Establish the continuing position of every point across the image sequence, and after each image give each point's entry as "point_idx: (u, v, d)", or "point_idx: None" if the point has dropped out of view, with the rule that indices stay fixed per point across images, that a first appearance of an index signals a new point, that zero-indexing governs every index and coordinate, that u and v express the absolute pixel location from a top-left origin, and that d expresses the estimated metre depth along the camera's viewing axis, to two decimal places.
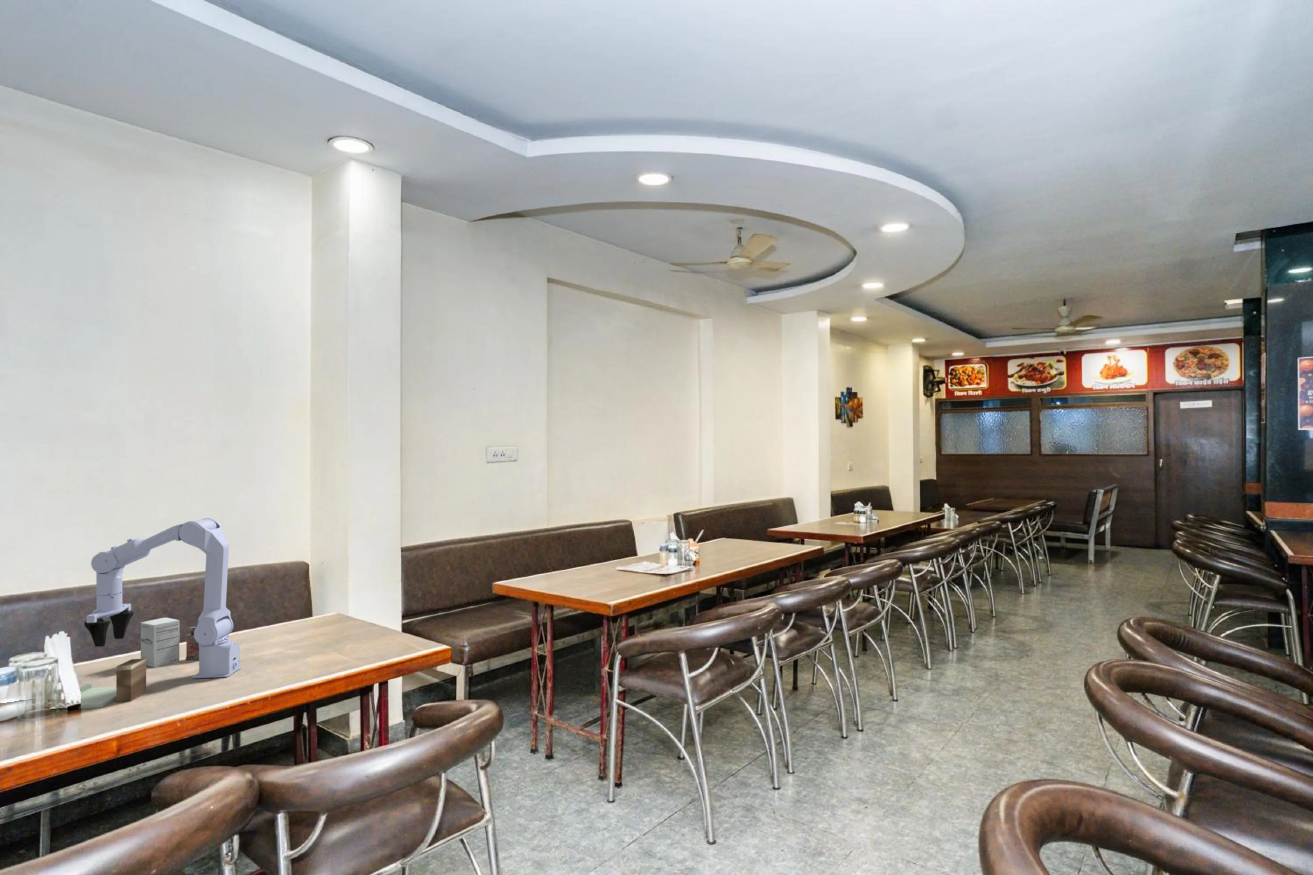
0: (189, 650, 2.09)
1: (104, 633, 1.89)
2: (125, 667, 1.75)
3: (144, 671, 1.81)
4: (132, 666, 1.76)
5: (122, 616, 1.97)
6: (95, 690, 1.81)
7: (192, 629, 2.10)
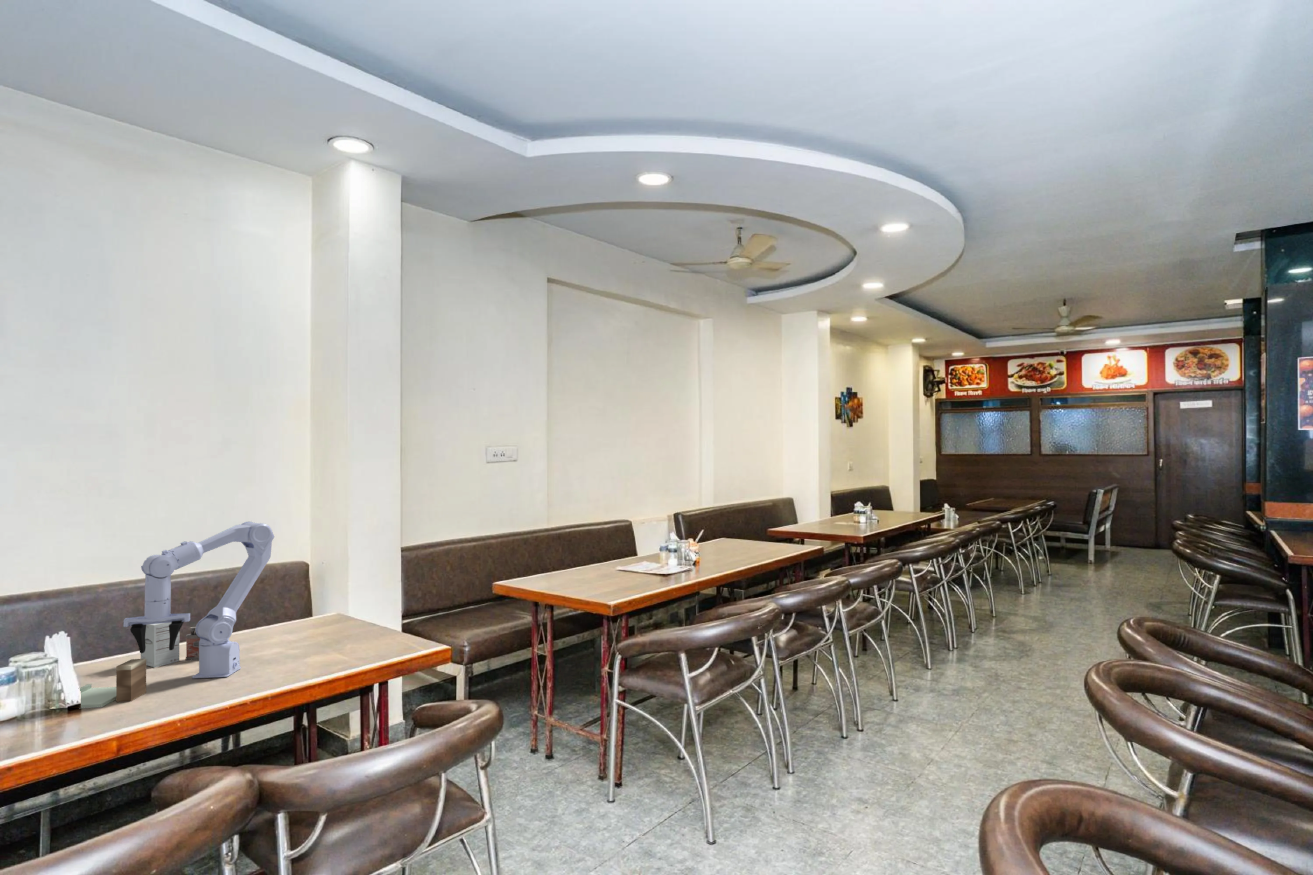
0: (189, 650, 2.09)
1: (138, 640, 1.82)
2: (125, 667, 1.75)
3: (144, 671, 1.81)
4: (132, 666, 1.76)
5: None
6: (95, 690, 1.81)
7: (192, 629, 2.10)
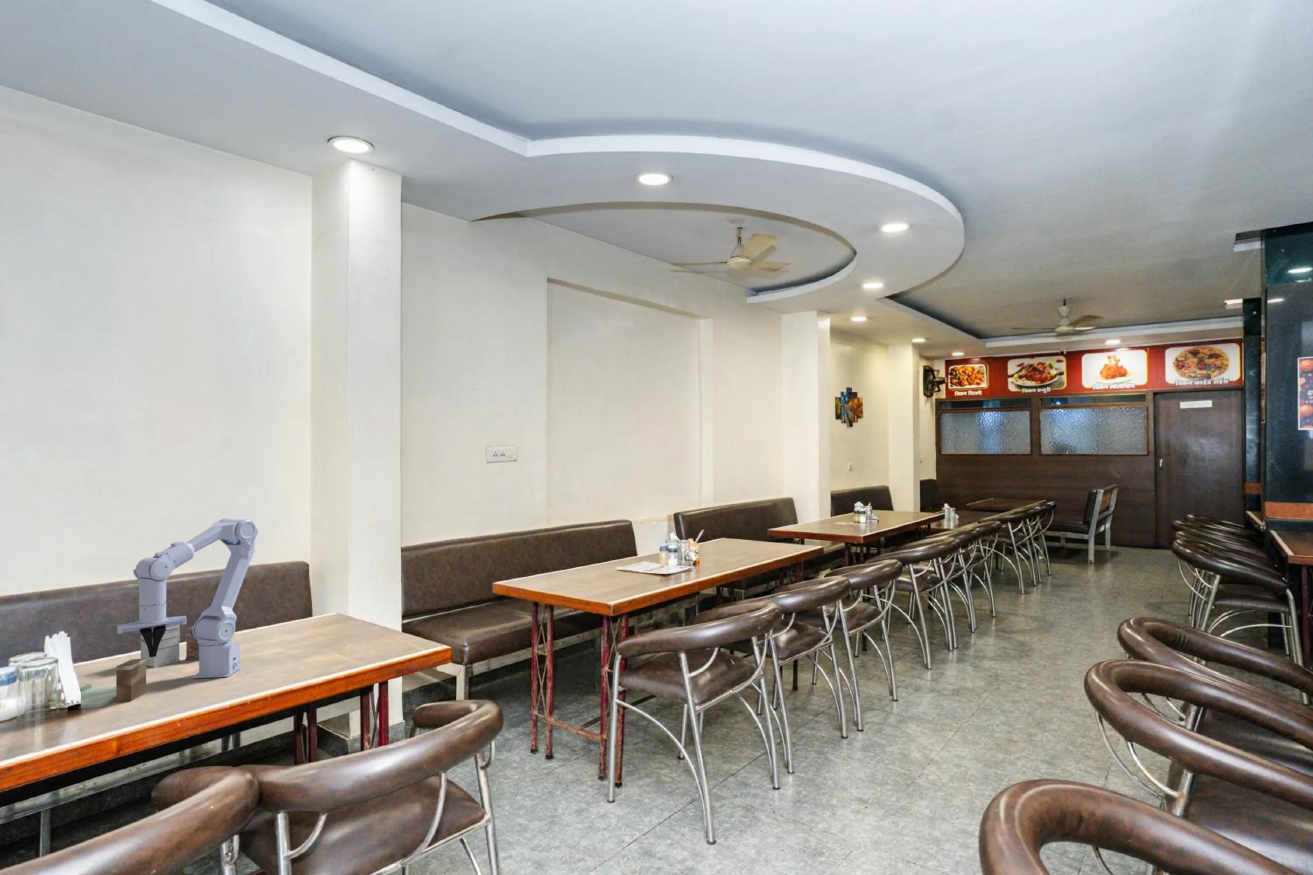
0: (189, 650, 2.09)
1: (148, 644, 1.78)
2: (125, 667, 1.75)
3: (144, 671, 1.81)
4: (132, 666, 1.76)
5: (154, 632, 1.80)
6: (95, 690, 1.81)
7: (192, 629, 2.10)
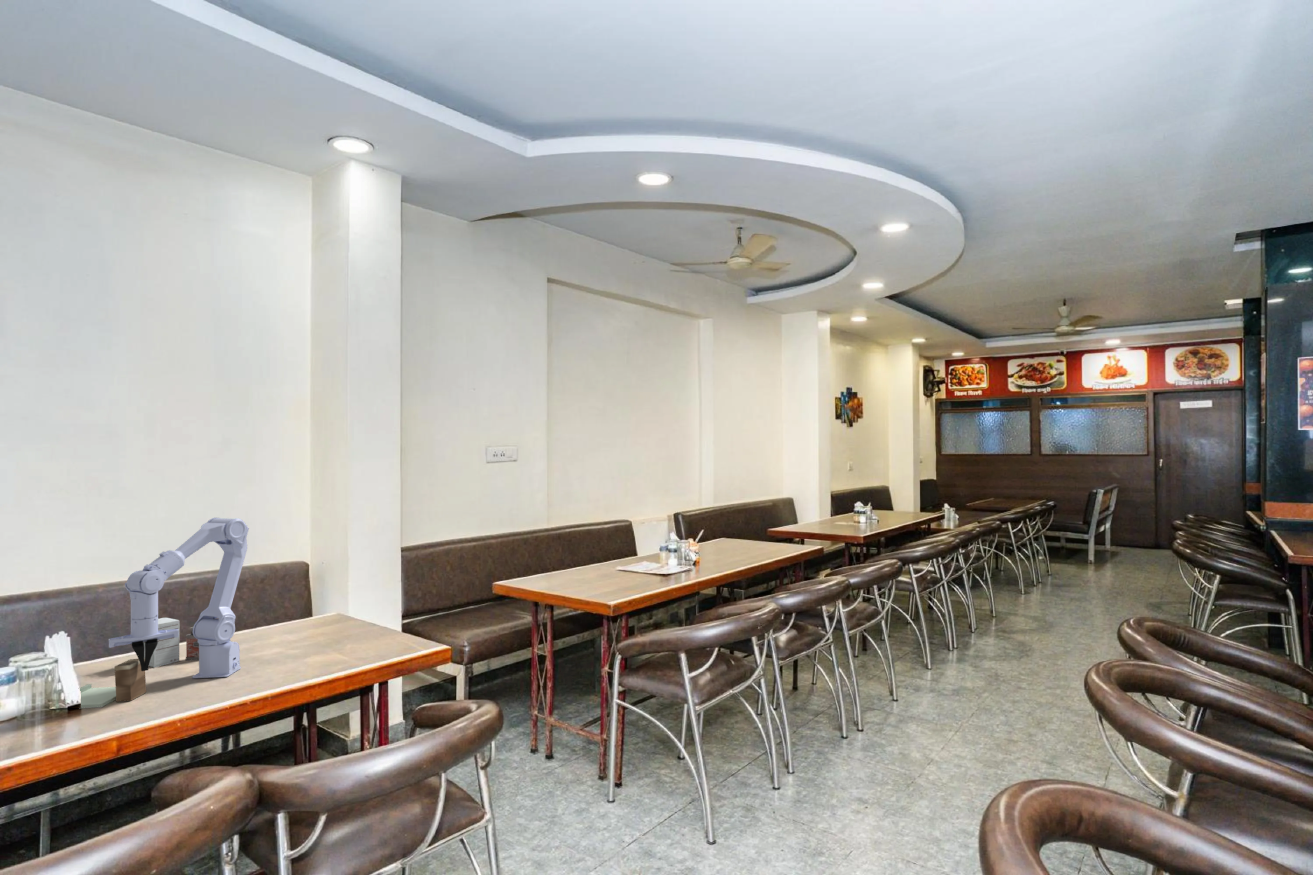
0: (189, 650, 2.09)
1: (140, 658, 1.77)
2: (124, 667, 1.75)
3: None
4: (130, 665, 1.76)
5: (145, 646, 1.78)
6: (95, 690, 1.81)
7: (192, 629, 2.10)
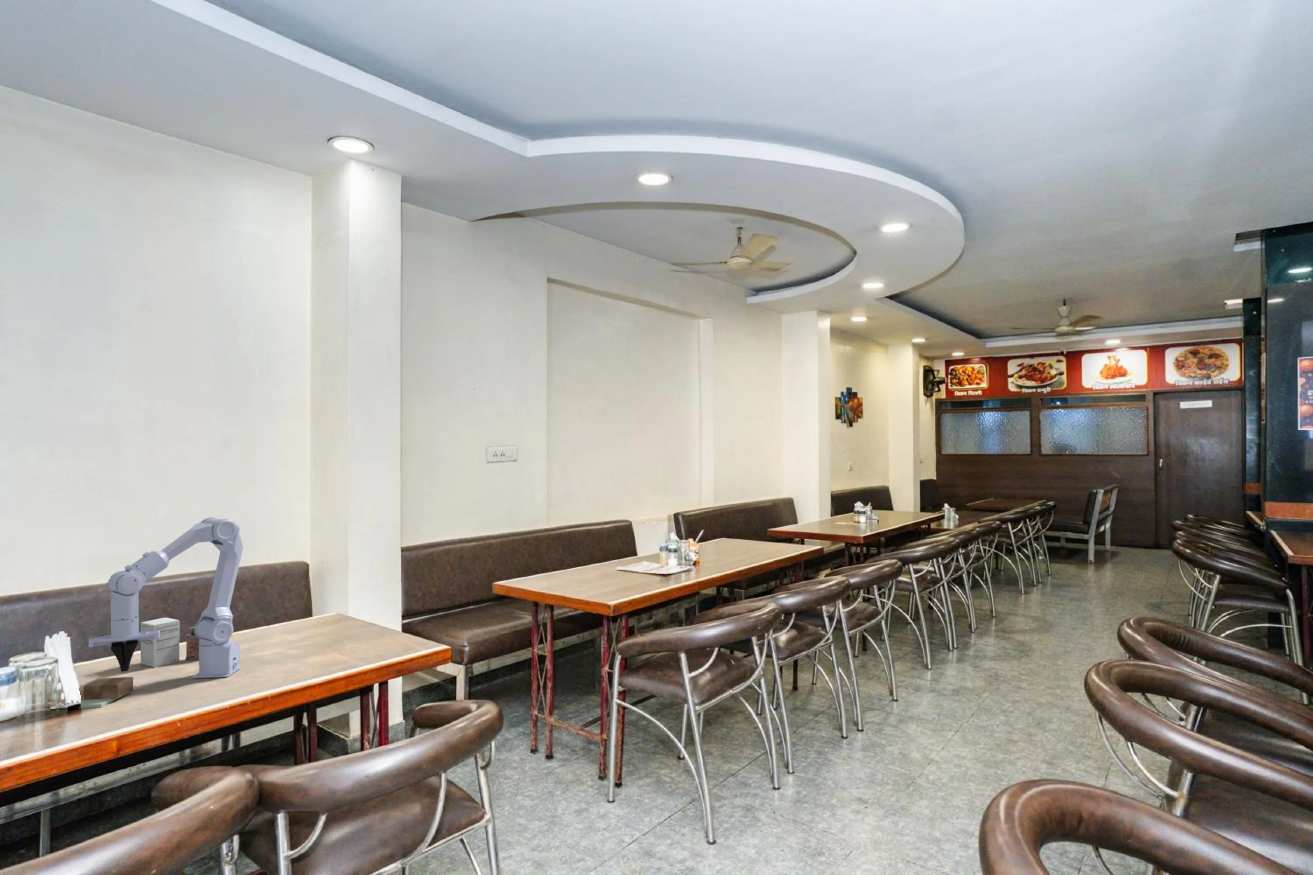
0: (189, 650, 2.09)
1: (119, 658, 1.76)
2: (81, 690, 1.74)
3: (107, 678, 1.80)
4: (82, 685, 1.75)
5: None
6: None
7: (192, 629, 2.10)
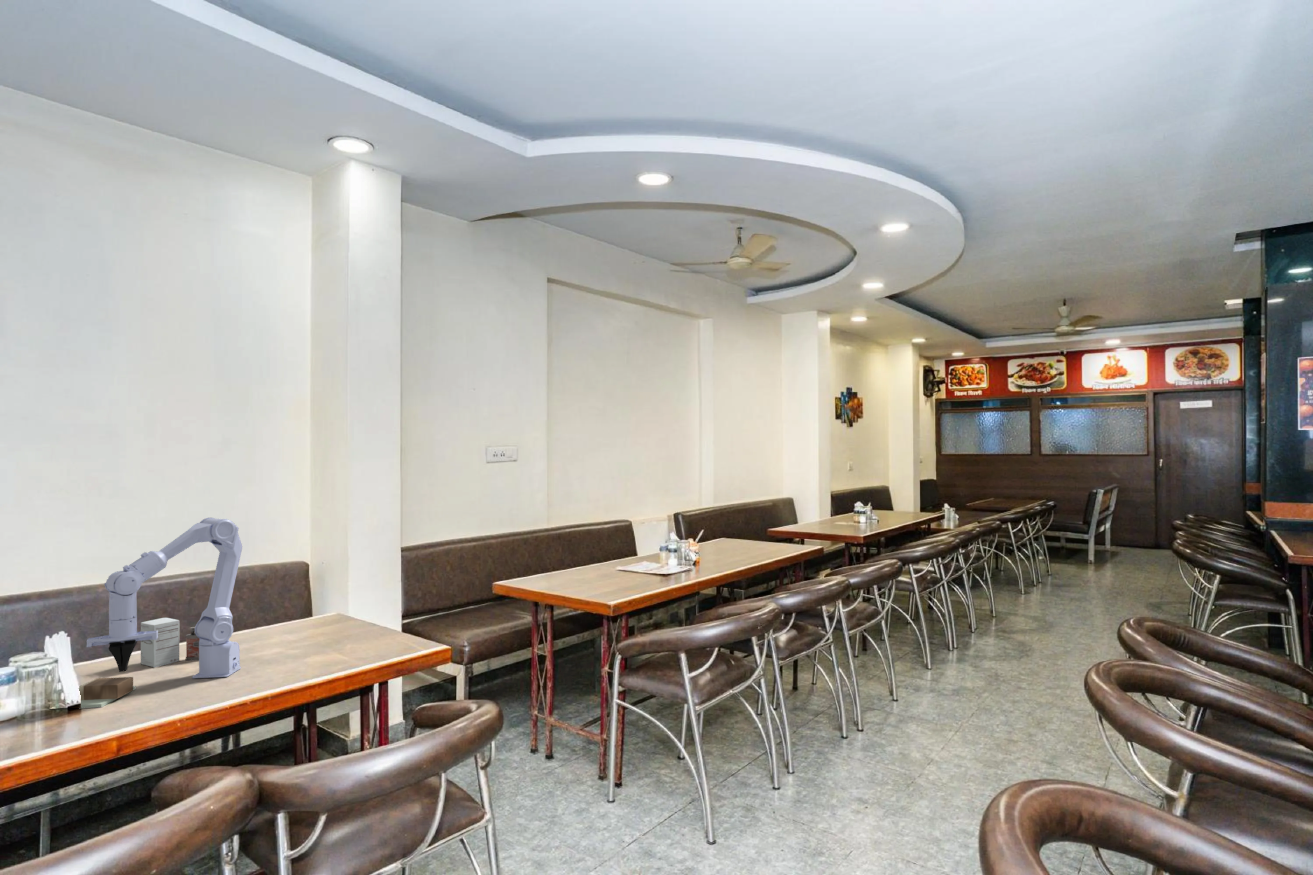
0: (189, 650, 2.09)
1: (116, 659, 1.76)
2: (81, 690, 1.74)
3: (107, 678, 1.80)
4: (82, 685, 1.75)
5: None
6: None
7: (192, 629, 2.10)
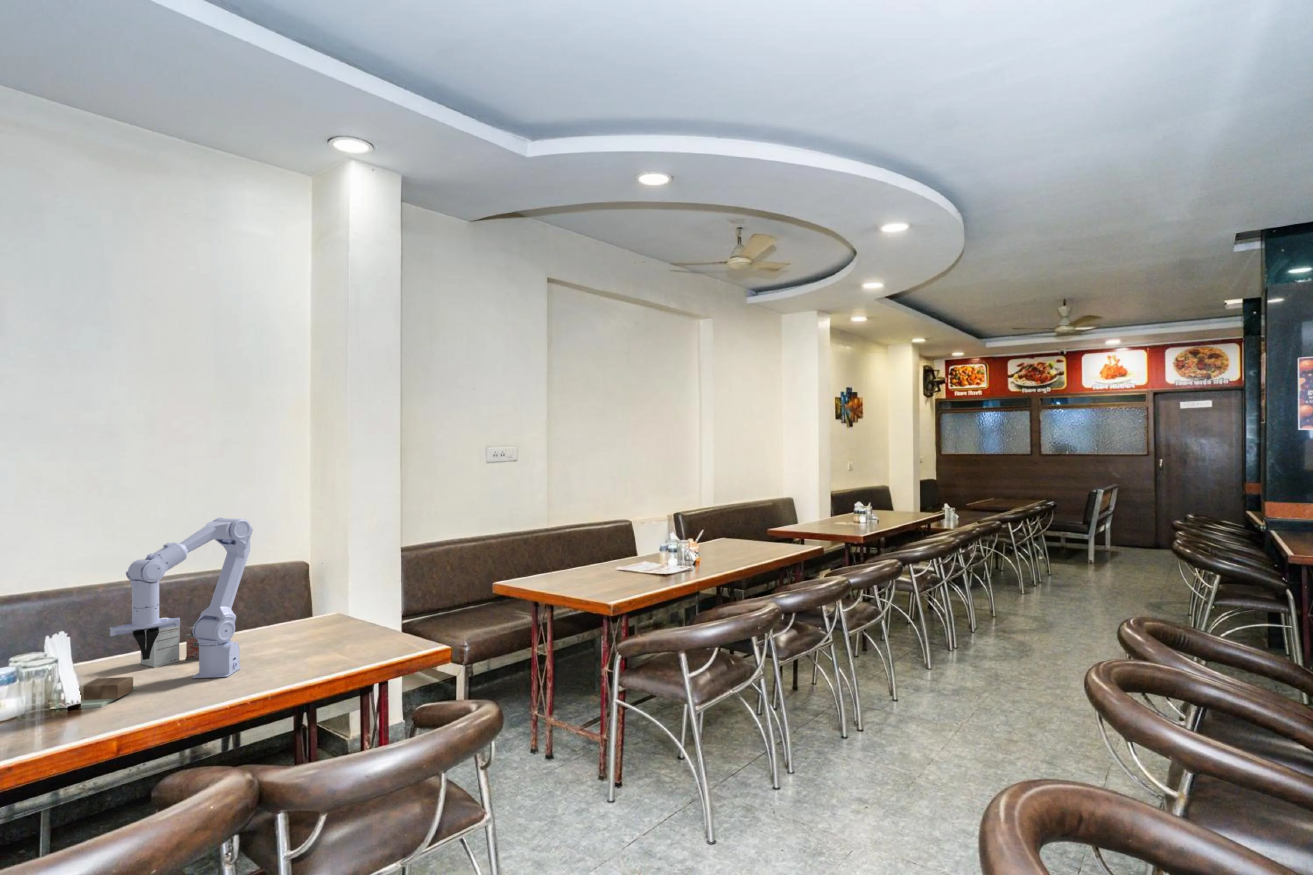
0: (189, 650, 2.09)
1: (141, 646, 1.77)
2: (81, 690, 1.74)
3: (107, 678, 1.80)
4: (82, 685, 1.75)
5: (147, 634, 1.78)
6: None
7: (192, 629, 2.10)
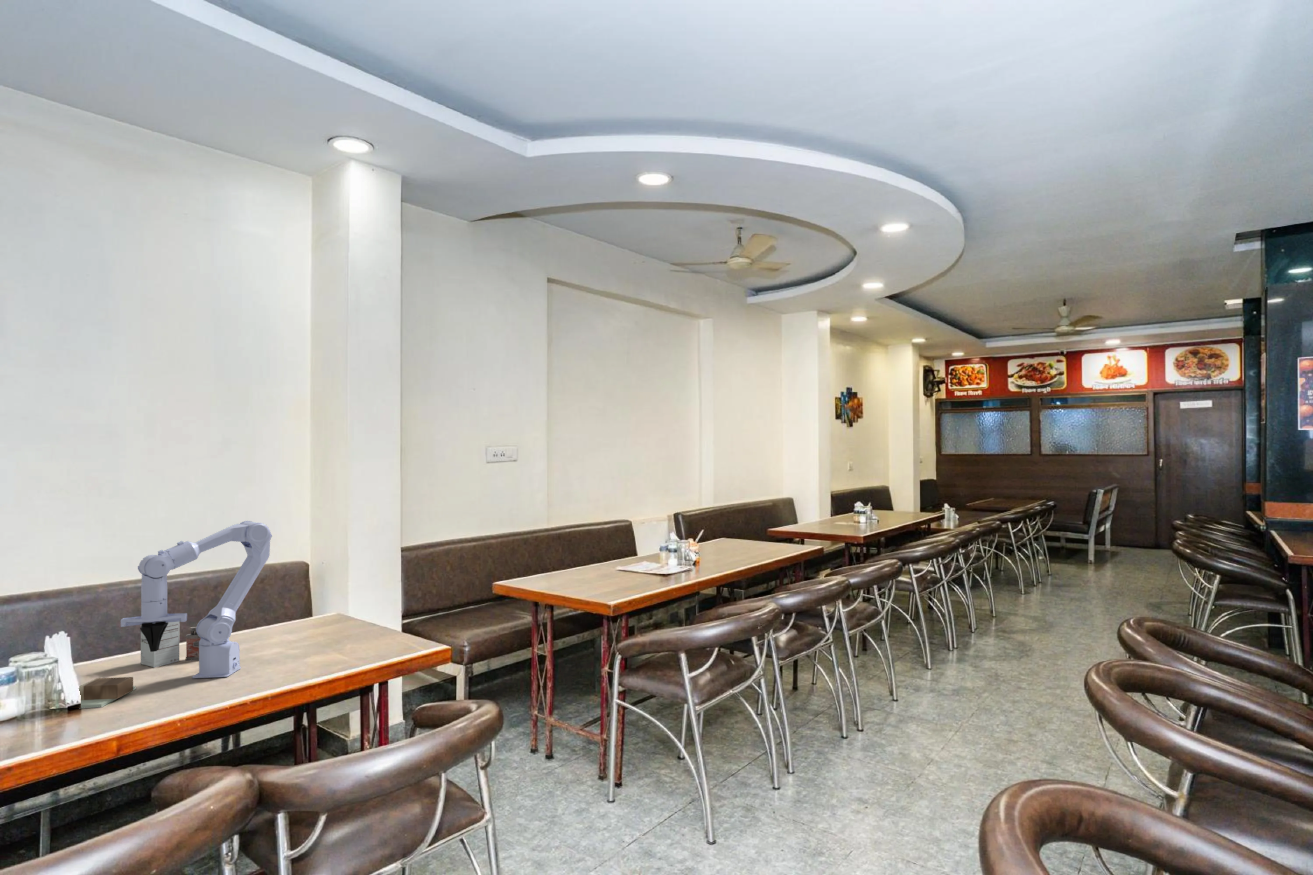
0: (189, 650, 2.09)
1: (148, 639, 1.84)
2: (81, 690, 1.74)
3: (107, 678, 1.80)
4: (82, 685, 1.75)
5: None
6: None
7: (192, 629, 2.10)
